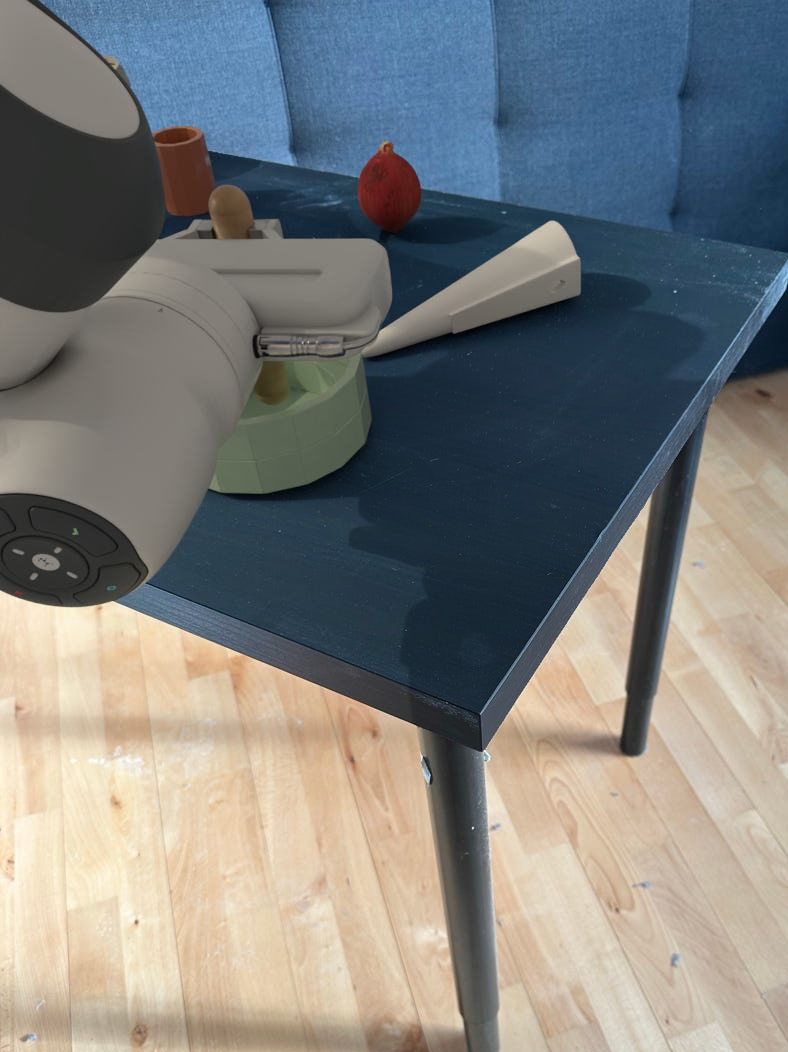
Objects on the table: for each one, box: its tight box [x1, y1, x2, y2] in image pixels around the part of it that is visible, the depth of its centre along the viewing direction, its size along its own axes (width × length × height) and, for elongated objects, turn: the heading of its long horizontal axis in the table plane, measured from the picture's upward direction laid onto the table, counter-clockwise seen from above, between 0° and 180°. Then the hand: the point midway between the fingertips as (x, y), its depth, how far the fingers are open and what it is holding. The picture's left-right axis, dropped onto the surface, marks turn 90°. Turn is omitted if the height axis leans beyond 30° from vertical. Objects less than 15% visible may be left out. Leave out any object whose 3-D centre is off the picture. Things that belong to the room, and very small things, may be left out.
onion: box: [357, 140, 422, 234], centre depth 86 cm, size 6×6×8 cm
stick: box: [208, 184, 290, 405], centre depth 59 cm, size 2×2×14 cm
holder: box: [152, 125, 218, 217], centre depth 91 cm, size 5×5×7 cm
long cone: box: [362, 220, 582, 359], centre depth 76 cm, size 6×6×19 cm
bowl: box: [208, 351, 373, 495], centre depth 65 cm, size 14×14×6 cm
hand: (240, 231), depth 57 cm, fingers closed on stick, 2 cm apart
